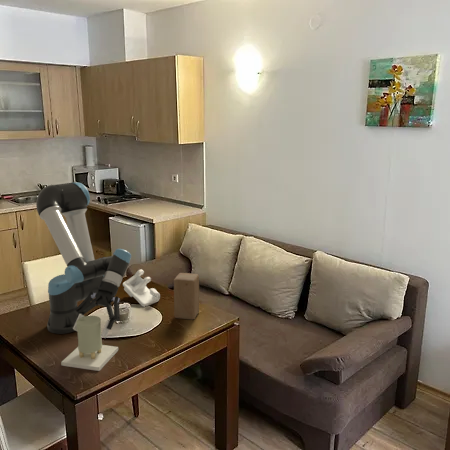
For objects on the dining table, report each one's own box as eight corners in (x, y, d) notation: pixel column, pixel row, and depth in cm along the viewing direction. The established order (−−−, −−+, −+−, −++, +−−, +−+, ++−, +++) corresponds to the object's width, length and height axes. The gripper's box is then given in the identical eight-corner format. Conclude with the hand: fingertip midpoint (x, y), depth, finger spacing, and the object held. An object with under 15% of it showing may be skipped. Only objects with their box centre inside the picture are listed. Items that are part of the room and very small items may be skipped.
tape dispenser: (157, 308, 242) (164, 290, 235) (140, 315, 233) (147, 296, 227) (134, 283, 250) (140, 265, 244) (117, 289, 242) (123, 271, 235)
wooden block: (194, 320, 217) (193, 280, 212) (173, 318, 218) (173, 278, 214) (199, 311, 226) (199, 273, 221) (180, 310, 228) (179, 271, 223)
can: (84, 340, 187) (82, 313, 184) (105, 342, 186) (104, 315, 183) (74, 352, 178) (72, 323, 176) (96, 354, 177) (95, 325, 174)
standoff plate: (61, 365, 178) (60, 354, 176) (83, 345, 193) (82, 335, 192) (99, 370, 174) (98, 360, 173) (118, 350, 189) (117, 340, 188)
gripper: (139, 292, 188) (120, 342, 179) (90, 283, 198) (69, 330, 188) (131, 285, 182) (110, 336, 173) (81, 276, 192) (58, 324, 182)
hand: (89, 333), depth 180 cm, fingers open, 13 cm apart
